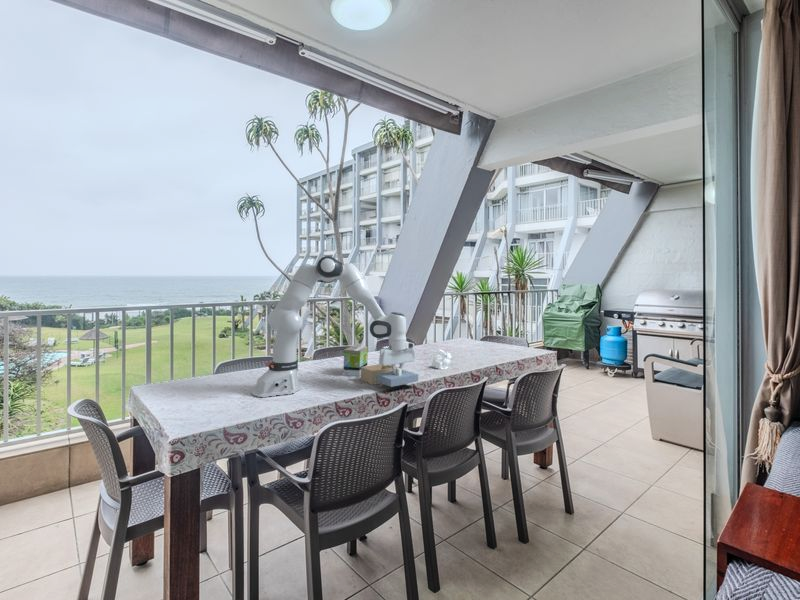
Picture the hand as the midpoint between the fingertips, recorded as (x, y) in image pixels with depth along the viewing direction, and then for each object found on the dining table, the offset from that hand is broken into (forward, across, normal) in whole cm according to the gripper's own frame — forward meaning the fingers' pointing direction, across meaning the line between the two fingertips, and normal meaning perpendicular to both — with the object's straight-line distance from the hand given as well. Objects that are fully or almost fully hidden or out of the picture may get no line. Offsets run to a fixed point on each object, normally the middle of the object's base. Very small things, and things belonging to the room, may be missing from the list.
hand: (397, 372), depth 197 cm
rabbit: (+8, +47, +17) cm, 50 cm away
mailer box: (+8, 0, +17) cm, 18 cm away
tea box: (+8, -2, +37) cm, 38 cm away
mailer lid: (+4, 0, 0) cm, 4 cm away
